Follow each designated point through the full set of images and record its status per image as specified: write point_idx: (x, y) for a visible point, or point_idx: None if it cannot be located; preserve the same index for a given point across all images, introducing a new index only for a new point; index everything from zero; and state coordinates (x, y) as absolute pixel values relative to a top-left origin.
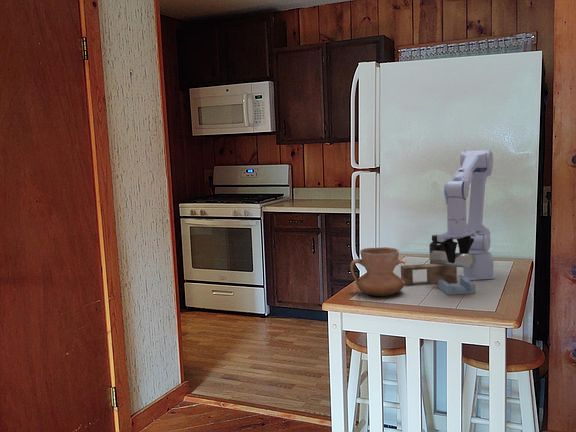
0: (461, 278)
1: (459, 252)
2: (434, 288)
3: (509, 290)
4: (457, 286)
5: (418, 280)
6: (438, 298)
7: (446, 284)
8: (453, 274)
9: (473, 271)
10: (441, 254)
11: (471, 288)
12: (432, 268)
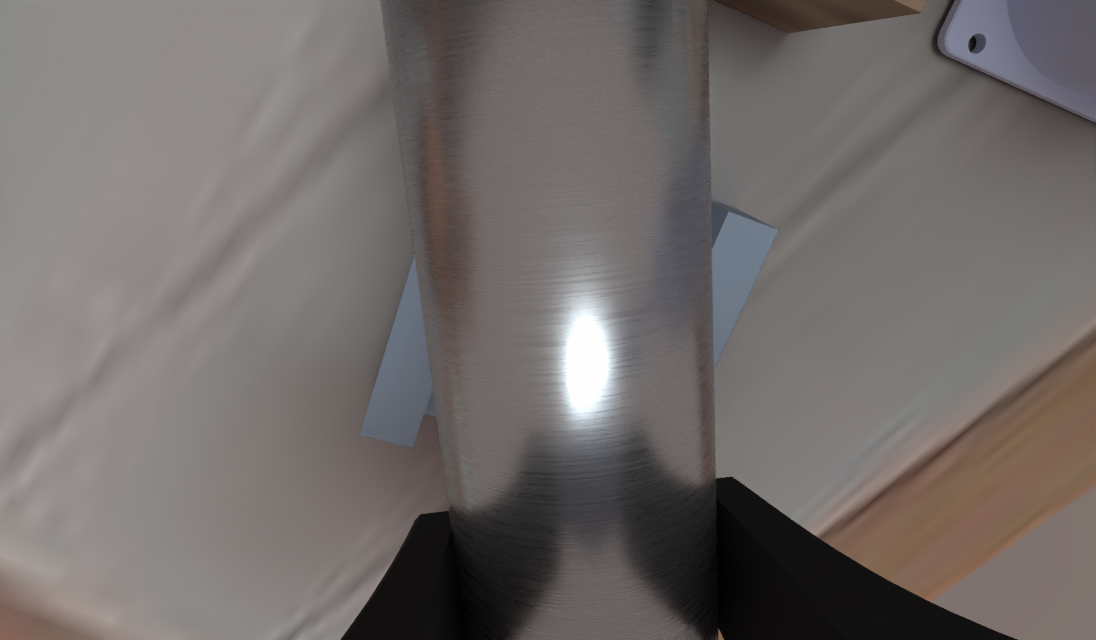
0: (719, 246)
1: (759, 545)
2: None
3: (909, 522)
4: None
5: None
6: (228, 444)
7: (392, 378)
8: (800, 6)
9: (1093, 48)
10: (455, 293)
11: None
12: None
